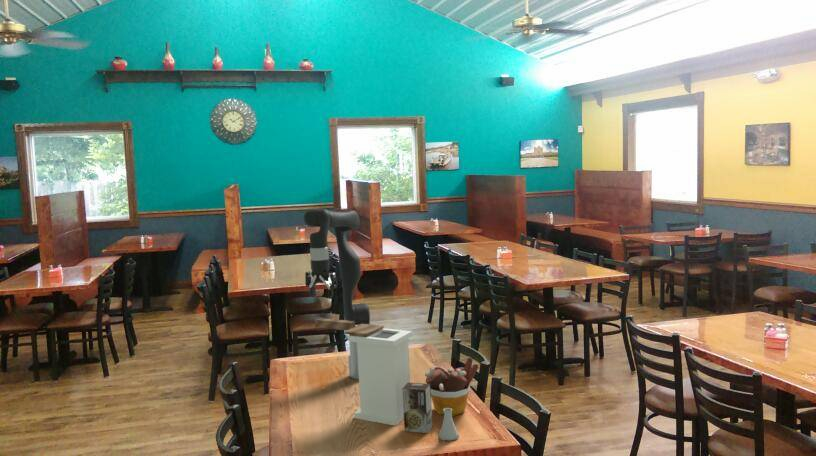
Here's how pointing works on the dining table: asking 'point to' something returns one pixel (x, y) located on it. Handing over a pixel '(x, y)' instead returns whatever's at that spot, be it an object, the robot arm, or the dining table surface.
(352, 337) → the display stand
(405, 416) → the coffee box
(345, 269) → the robot arm
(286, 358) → the dining table surface
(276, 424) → the dining table surface
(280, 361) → the dining table surface
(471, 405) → the dining table surface
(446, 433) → the flask
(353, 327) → the wooden cutting board
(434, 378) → the bucket of meat
